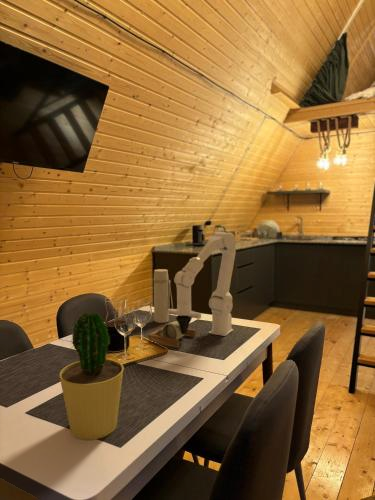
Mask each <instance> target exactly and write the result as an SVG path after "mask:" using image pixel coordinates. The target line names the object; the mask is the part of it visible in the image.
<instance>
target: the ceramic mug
mask: <svg viewBox="0 0 375 500" xmlns="http://www.w3.org/2000/svg"><path fill="white" fill-rule="evenodd" d="M162 328H163V329H162V333H161V334H160V336H162V337H167V338H173V339H178V340H180V339H181V338H183V337H184V336H185V334H182V332H181V328H180V325H179V323H178V321H177V320H176V321H172V322H169V323H164V325H163V326H162Z"/></svg>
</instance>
